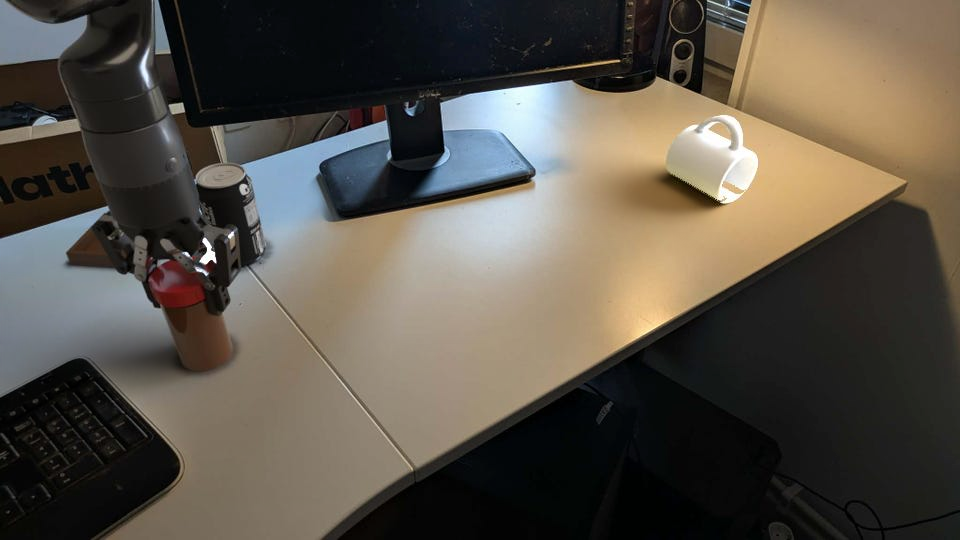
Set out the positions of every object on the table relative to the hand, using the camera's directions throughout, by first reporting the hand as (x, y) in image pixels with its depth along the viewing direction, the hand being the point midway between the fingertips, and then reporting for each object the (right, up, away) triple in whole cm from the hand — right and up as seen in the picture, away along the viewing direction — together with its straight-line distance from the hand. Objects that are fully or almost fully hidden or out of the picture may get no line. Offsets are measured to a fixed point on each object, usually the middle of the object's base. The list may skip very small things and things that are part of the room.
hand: (191, 306), depth 68 cm
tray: (-17, +7, +19) cm, 27 cm away
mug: (+64, +16, +33) cm, 74 cm away
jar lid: (0, +3, -2) cm, 4 cm away
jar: (0, -5, +4) cm, 7 cm away
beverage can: (-1, +6, +19) cm, 19 cm away
